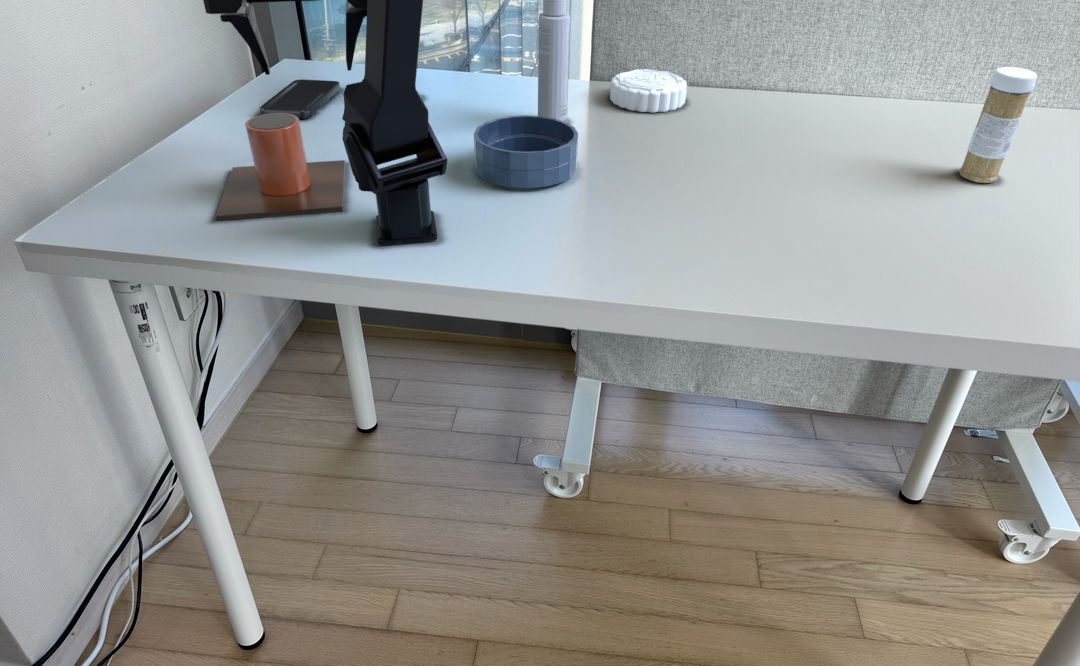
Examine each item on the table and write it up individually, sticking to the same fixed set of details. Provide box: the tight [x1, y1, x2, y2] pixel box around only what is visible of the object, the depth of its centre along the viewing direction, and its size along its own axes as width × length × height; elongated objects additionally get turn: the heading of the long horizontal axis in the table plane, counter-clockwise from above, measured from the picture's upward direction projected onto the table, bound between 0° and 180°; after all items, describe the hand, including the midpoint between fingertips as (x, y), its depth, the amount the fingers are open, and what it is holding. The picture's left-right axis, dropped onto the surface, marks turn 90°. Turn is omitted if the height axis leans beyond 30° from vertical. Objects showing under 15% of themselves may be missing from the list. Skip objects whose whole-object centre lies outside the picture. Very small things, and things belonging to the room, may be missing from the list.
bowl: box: [473, 114, 579, 189], centre depth 96 cm, size 13×13×5 cm
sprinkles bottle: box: [958, 66, 1038, 184], centre depth 93 cm, size 5×5×14 cm
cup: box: [244, 113, 310, 196], centre depth 89 cm, size 6×6×8 cm
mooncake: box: [609, 68, 688, 114], centre depth 119 cm, size 12×12×4 cm
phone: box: [259, 79, 341, 120], centre depth 118 cm, size 8×1×15 cm
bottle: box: [537, 0, 571, 123], centre depth 106 cm, size 4×4×20 cm
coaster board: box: [215, 159, 346, 221], centre depth 91 cm, size 14×14×1 cm
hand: (309, 71), depth 88 cm, fingers open, 9 cm apart
